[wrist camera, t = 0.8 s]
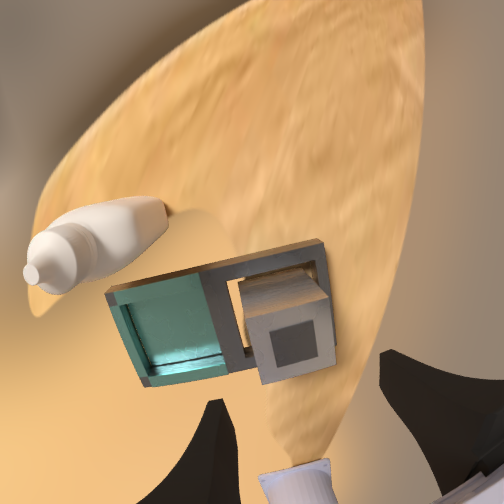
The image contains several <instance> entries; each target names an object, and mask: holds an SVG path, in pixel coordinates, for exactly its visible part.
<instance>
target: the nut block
mask: <svg viewBox="0 0 504 504" xmlns="http://www.w3.org/2000/svg"><path fill="white" fill-rule="evenodd" d="M238 286H239V291H240V296H241V302H242V307H243V312H244V317H245V321H246V325H247V329H248V333H249V337H250V341H251V344H252V348H253V352H254V356H255V360H256V364H257V367H258V371H259V375H260V379H261V382H262V385H265V384H269V383H273V382H277V381H281V380H285V379H289V378H292V377H296V376H300V375H303V374H307V373H310V372H314V371H317V370H320V369H324V368H327V367H330V366H333V365H336V356H335V346H334V337H333V328H332V319H331V311H330V303H329V297H328V296H327V295H326V294H325V293H324V291H323V290H322V289H321V288H320V287H319V286H318V285H317V284H316V283H315V282H314V281H313V280H312V279H311V278H310V277H309V276H308V274H307V273H306V272H305V271H304V270H303V269H302V268H301V267H297V268H293V269H289V270H285V271H281V272H277V273H273V274H269V275H265V276H261V277H256V278H252V279H248V280H243V281H239V282H238Z"/></svg>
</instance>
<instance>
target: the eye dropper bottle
mask: <svg viewBox="0 0 504 504" xmlns="http://www.w3.org/2000/svg"><path fill="white" fill-rule="evenodd" d="M167 229H168V218H167V214H166V210H165V207H164V203H163V202H162V200H161V199H159V198H157V197H151V196H133V197H126V198H121V199H116V200H111V201H106V202H101V203H96V204H91V205H87V206H83V207H80V208H77V209H74V210H72V211H70V212H68V213H66V214H64V215H62V216H60V217H59V218H58V219H56V220H55V221H54V222H53V223H51V224H50V225H49V226H48V227H47V228H46V230H44V231H41V232H39V233H38V234H37V235H36V236H35V237H34V238H33V239H32V240H31V243H30V245H29V248H28V252H27V263H28V264H27V265H26V266H25V267H24V270H23V275H24V278H25V280H26V282H27V283H28V284H30V285H38V286H39V287H40V288H41V289H42V290H44V291H46V292H48V293H49V294H50V293H51V294H54V295H61V294H64V293H67V292H69V291H70V290H71V289H73V288H74V287H75V286H76V285H78V284H79V283H86V282H92V281H96V280H99V279H102V278H105V277H108V276H110V275H112V274H114V273H116V272H118V271H119V270H121V269H123V268H124V267H125V266H127V265H128V264H130V263H131V262H133V261H134V260H135V259H136V258H137V257H139V256H140V255H141V254H142V253H143V252H144V251H145V250H146V249H147V248H148V247H150V246H151V245H152V244H153V243H154V242H155V241H156V240H157V239H158V238H159V237H160V236H161V235H162V234H163V233H164V232H165V231H166V230H167Z"/></svg>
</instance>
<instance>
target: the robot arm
mask: <svg viewBox="0 0 504 504" xmlns="http://www.w3.org/2000/svg"><path fill="white" fill-rule="evenodd" d="M379 386H380V388H381V390H382V392H383V394H384V396H385V397H386V399H387V401H388V402H389V404H390V405H391V407H392V408H393V409H394V411H395V412H396V413H397V415H398V416H399V417H400V418H401V420H402V421H403V422H404V424H405V425H406V426H407V428H408V429H409V430H410V432H411V433H412V435H413V436H414V438H415V439H416V441H417V442H418V444H419V446H420V448H421V450H422V452H423V453H424V455H425V457H426V459H427V461H428V463H429V465H430V467H431V470H432V472H433V474H434V476H435V478H436V481H437V483H438V486H439V488H440V491H441V494H442V497H441V498H439V499H437V500H436V501H434V502H432V503H430V504H504V380H486V379H477V378H470V377H464V376H460V375H456V374H452V373H448V372H445V371H442V370H439V369H436V368H434V367H431V366H428V365H426V364H424V363H421V362H419V361H416V360H414V359H412V358H410V357H408V356H406V355H403V354H401V353H399V352H397V351H395V350H392V349H390V350H387V351H385V352H383V353H380V380H379ZM258 480H259V482H260V484H261V487H262V489H263V491H264V493H265V495H266V497H267V500H268V502H269V504H338V502H337V499H336V497H335V494H334V491H333V489H332V482H331V467H330V460H329V458H324V459H321V460H317V461H314V462H310V463H307V464H303V465H299V466H296V467H292V468H288V469H283V470H279V471H275V472H270V473H265V474H261V475H259V476H258ZM137 504H241V500H240V494H239V476H238V447H237V441H236V435H235V429H234V426H233V424H232V421H231V419H230V416H229V413H228V411H227V408H226V406H225V403H224V401H223V399H217V400H211V401H209V402H208V403H207V405H206V408H205V411H204V414H203V416H202V418H201V421H200V423H199V426H198V428H197V430H196V432H195V434H194V436H193V438H192V440H191V442H190V443H189V445H188V447H187V449H186V450H185V452H184V454H183V455H182V457H181V458H180V460H179V461H178V463H177V464H176V465H175V467H174V468H173V469H172V470H171V472H170V473H169V474H168V476H167V477H166V478H165V479H164V480H163V481H162V482H161V483H160V484H159V485H158V486H157V487H156V488H155V489H154V490H153V491H152V492H151V493H149V494H148V495H147V496H146V497H145V498H143V499H142V500H141V501H139V502H138V503H137Z"/></svg>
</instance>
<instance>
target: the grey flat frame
mask: <svg viewBox="0 0 504 504" xmlns="http://www.w3.org/2000/svg"><path fill="white" fill-rule="evenodd" d="M308 261H310V265H311V271H312V277H313V281H314V282H315V283H316V284H317V285H318V286H319V287H320V288H321V289H322V290H323V291H324V293H325V294H326V295H327V296H328V297H329V303H330V311H331V319H332V328H333V337H334V346H336V345H337V343H336V333H335V324H334V315H333V307H332V298H331V291H330V283H329V276H328V269H327V262H326V255H325V248H324V242H322V241H320V240H319V239H317V238H316V239H311V240H307V241H303V242H299V243H294V244H290V245H286V246H282V247H278V248H273V249H269V250H265V251H261V252H256V253H252V254H248V255H244V256H239V257H235V258H231V259H227V260H222V261H218V262H214V263H209V264H205V265H201V266H197V267H192V268H188V269H184V270H180V271H175V272H171V273H167V274H163V275H158V276H154V277H150V278H145V279H141V280H137V281H133V282H129V283H125V284H120V285H115V286H112V287H110V288H109V289H108V290H107V292H106V293H105V297H106V300H107V302H108V305H109V308H110V310H111V313H112V316H113V318H114V321H115V323H116V326H117V328H118V331H119V333H120V336H121V338H122V340H123V342H124V345H125V347H126V350H127V352H128V354H129V356H130V359H131V361H132V363H133V365H134V367H135V369H136V372H137V374H138V376H139V378H140V380H141V382H142V384H143V386H144V387H159V386H165V385H172V384H178V383H185V382H191V381H197V380H202V379H207V378H212V377H218V376H223V375H228V374H229V373H233V372H238V371H242V370H247V369H251V368H256V367H257V364H256V360H255V356H254V352H253V348H252V346H250V347H245V348H244V347H243V343H242V339H241V336H240V332H239V329H238V325H237V321H236V317H235V314H234V310H233V305H232V302H231V298H230V294H229V290H228V286H227V282H226V281H229V280H233V279H238V278H242V277H246V276H251V275H255V274H259V273H263V272H267V271H271V270H276V269H280V268H284V267H288V266H292V265H296V264H300V263H304V262H308ZM127 305H128V306H127ZM130 313H131V314H130ZM133 321H134V322H133ZM135 326H136V327H135ZM136 329H137V330H136ZM138 334H139V335H138ZM140 339H141V340H140ZM143 346H144V347H143ZM145 351H146V352H145ZM148 358H149V359H148ZM151 365H152V366H151Z"/></svg>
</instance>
